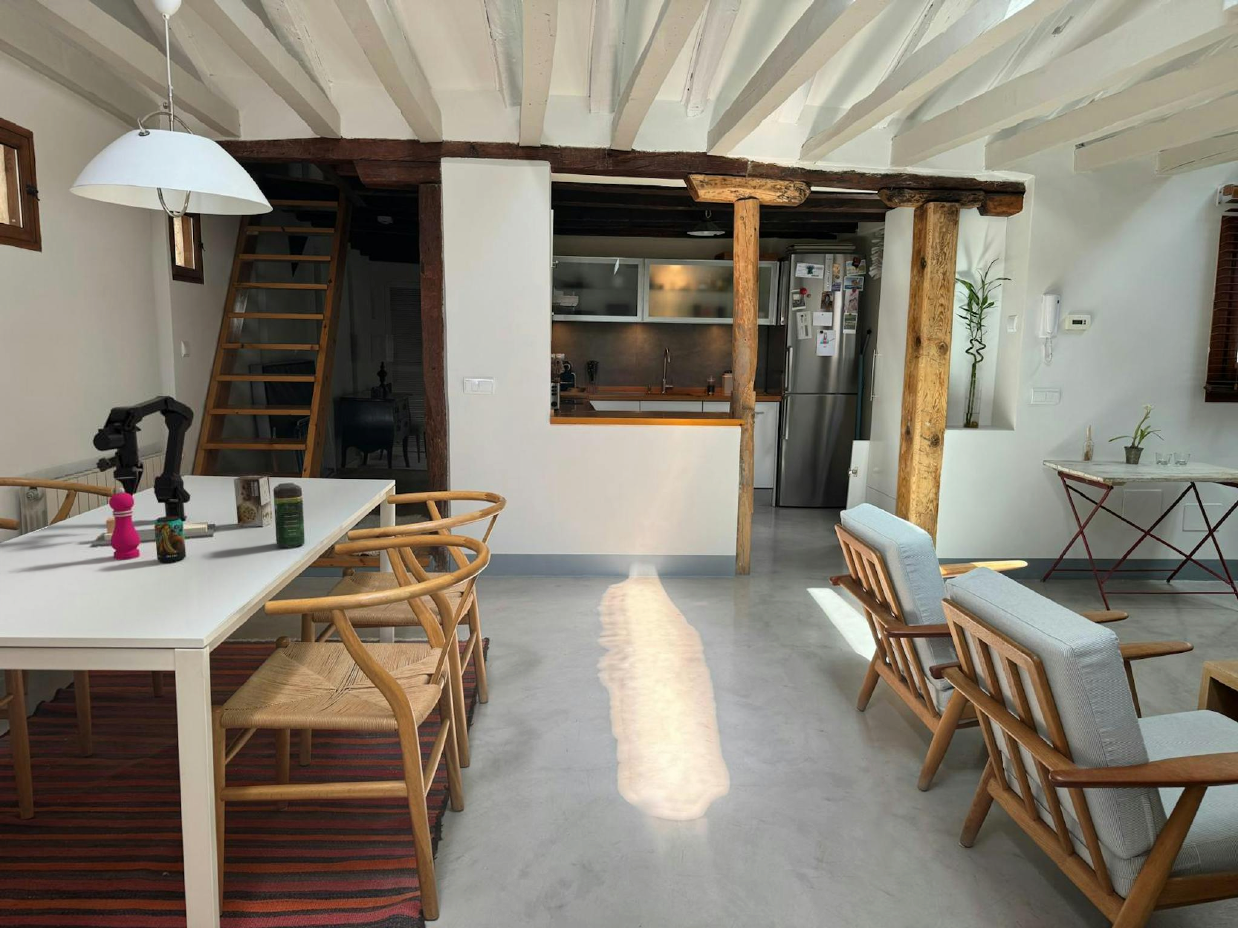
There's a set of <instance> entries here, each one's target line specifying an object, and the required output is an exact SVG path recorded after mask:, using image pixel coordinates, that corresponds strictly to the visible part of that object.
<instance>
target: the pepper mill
mask: <svg viewBox="0 0 1238 928" xmlns="http://www.w3.org/2000/svg"><path fill="white" fill-rule="evenodd" d="M108 505H109V507H110V508H111V509H112V510H113V511H111V513H112V517H113V518H115V528H114V531H113V534H112V537H111V546H110V547H111V548H112V549H113V550H115V551H114V552H113V559H114V560H118V561H122V560H123V561H124V560H131V559H132V558H133V559H135V558H138V557H140V556H141V555H140V554H141V553H140V549H139V548H138V547H139V546H140V544H141V543H140V537H139V534H138V533H137V531H136V530H137V529H136V527H135V526H134V522H133V515H134V509H133V507H134V505H135V499H134V497H133V496H131V495H130V494H128V493H125V490H124V488H123V487H118V488H117V490H116V493H115V494H113V495H112V496H111V497H110V499H109V501H108ZM133 559H132V560H133Z"/></svg>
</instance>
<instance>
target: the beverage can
mask: <svg viewBox="0 0 1238 928" xmlns="http://www.w3.org/2000/svg"><path fill="white" fill-rule="evenodd" d="M155 520H156V522H155V524H154V526H153V527H154V528H153V529H155V539H156V542H155V547H156V548H155V549H156V559H157V561H159V562H160V563H162V564H171V563H177V562H181V561H183V560H185V558H186V557H187V552H186V539H185V538H184V526H183V524H184V522H183V521H181V520H180V517H179V516H167V517H166V516H161V517H158V518H156V519H155Z"/></svg>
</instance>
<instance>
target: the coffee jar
mask: <svg viewBox="0 0 1238 928" xmlns="http://www.w3.org/2000/svg"><path fill="white" fill-rule="evenodd" d="M302 491H303V490H302V487H301V486H299V485H298V484H296V483H294V482H284V483H279V484H277V485H275V486H274V488H273V490H272V492H273V504H274V505H273V506H274V523H275V524H274V525H275V526H274V527H275V538H276V539H275V540H276V545H277V546H278V548H288V549H291V548H296V547H299V546H300V545H301V546H303V545H304V544H305V539H306V538H305V525H304V524H305V522H304V521H305V520H304V501H303V492H302Z"/></svg>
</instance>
